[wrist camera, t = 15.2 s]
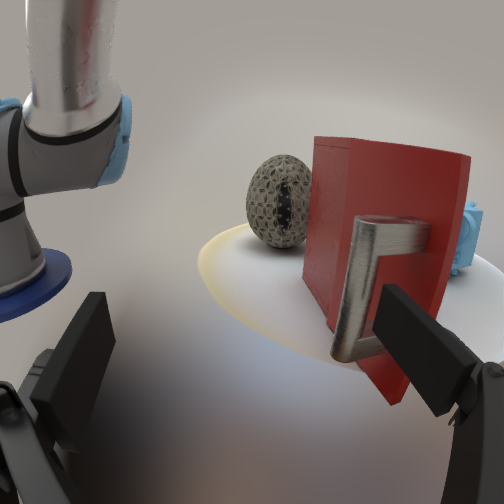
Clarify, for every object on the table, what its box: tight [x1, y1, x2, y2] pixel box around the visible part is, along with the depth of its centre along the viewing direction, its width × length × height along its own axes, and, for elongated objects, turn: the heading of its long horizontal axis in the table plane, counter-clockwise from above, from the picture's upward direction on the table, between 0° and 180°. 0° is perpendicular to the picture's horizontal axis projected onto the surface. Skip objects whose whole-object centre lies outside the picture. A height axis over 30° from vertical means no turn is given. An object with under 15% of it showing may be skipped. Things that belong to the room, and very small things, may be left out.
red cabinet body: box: [302, 136, 370, 318], centre depth 33 cm, size 10×12×18 cm
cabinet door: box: [327, 139, 471, 406], centre depth 21 cm, size 6×12×18 cm, turn 14°
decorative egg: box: [246, 155, 312, 248], centre depth 48 cm, size 12×12×15 cm
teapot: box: [450, 202, 483, 275], centre depth 43 cm, size 18×16×13 cm
